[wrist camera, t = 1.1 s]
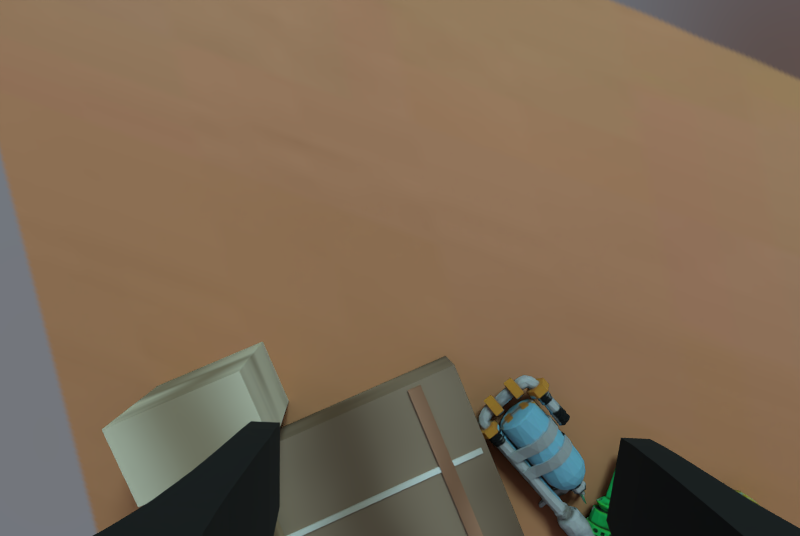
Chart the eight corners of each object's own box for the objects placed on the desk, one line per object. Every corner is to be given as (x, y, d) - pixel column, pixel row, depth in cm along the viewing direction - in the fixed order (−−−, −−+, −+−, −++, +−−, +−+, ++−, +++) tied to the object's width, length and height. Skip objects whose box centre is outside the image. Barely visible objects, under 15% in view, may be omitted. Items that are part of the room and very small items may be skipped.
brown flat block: (263, 643, 26) (256, 678, 24) (183, 470, 25) (169, 491, 23) (514, 524, 27) (529, 548, 25) (445, 355, 26) (454, 365, 24)
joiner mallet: (234, 552, 26) (202, 644, 20) (158, 385, 25) (101, 429, 19) (335, 506, 26) (333, 583, 20) (262, 341, 26) (239, 370, 20)
